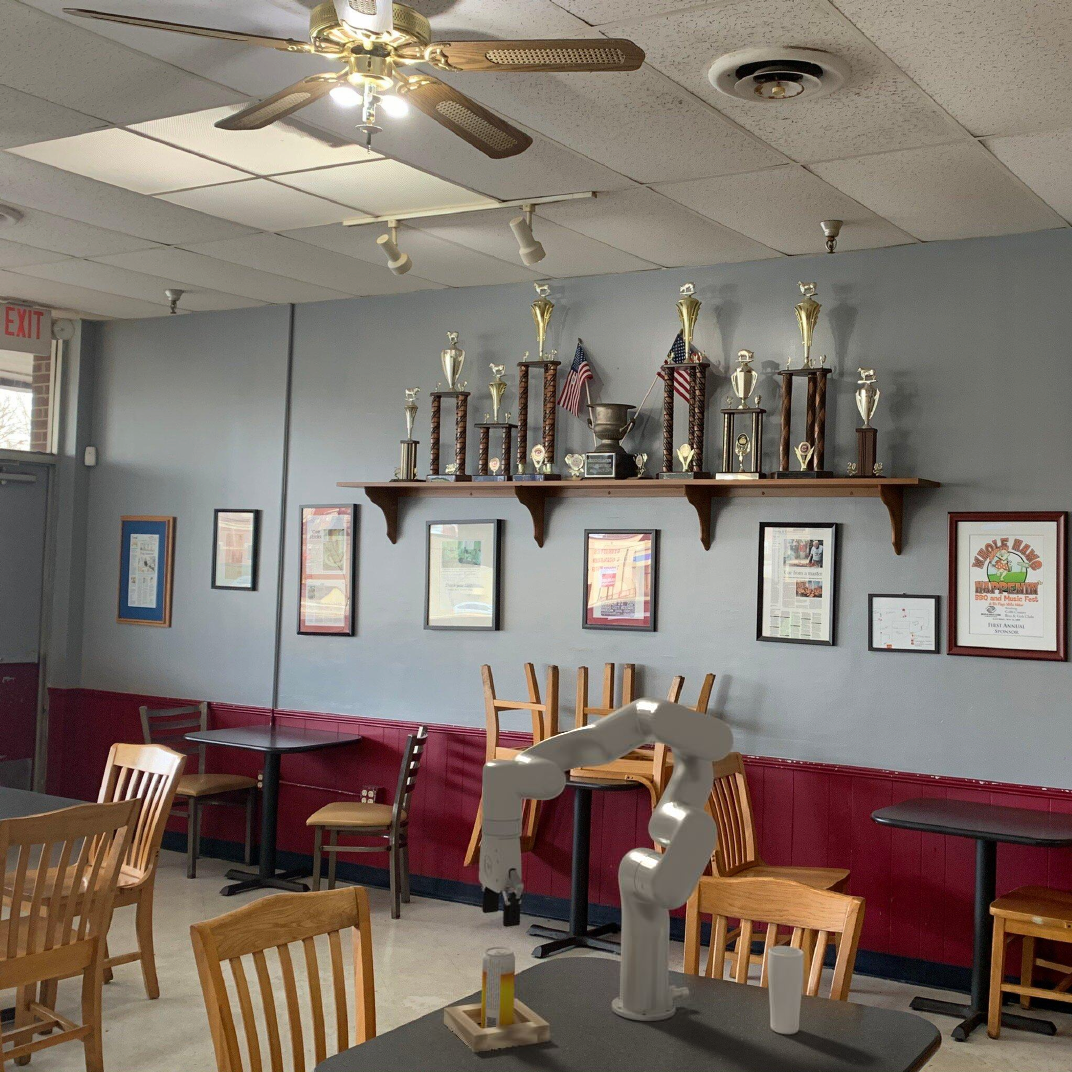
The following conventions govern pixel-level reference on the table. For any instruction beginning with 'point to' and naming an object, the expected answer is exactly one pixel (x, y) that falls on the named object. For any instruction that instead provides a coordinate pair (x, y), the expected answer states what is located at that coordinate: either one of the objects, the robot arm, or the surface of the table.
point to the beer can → (497, 987)
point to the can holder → (496, 1028)
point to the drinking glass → (785, 987)
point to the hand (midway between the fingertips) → (500, 918)
